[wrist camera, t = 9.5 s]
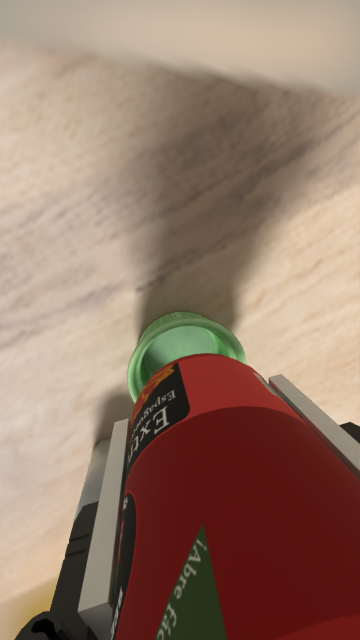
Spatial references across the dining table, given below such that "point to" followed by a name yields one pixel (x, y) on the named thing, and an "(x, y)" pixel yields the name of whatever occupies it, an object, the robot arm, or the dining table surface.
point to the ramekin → (178, 345)
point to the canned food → (233, 515)
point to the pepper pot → (94, 475)
